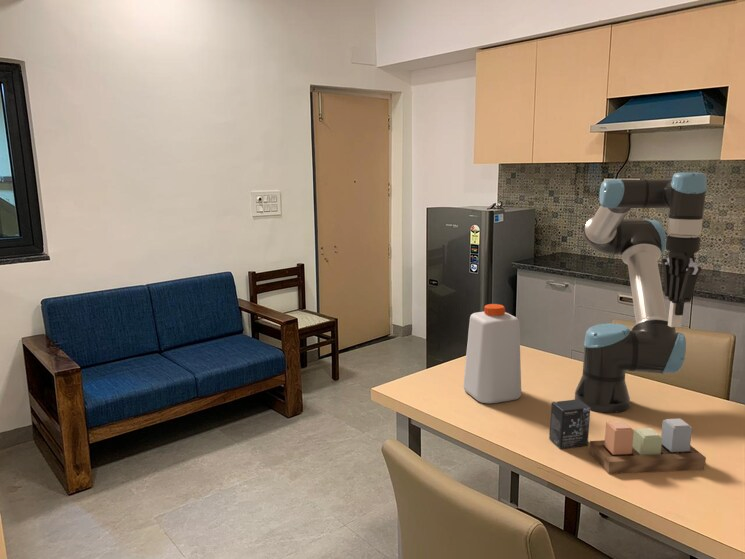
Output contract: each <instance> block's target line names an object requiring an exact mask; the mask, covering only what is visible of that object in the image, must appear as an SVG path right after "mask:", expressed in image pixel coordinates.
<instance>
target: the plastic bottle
mask: <svg viewBox="0 0 745 559" xmlns="http://www.w3.org/2000/svg"><path fill="white" fill-rule="evenodd" d="M483 308H484V309H483V311H478V312H473V313H472V314H470V315H469V316H470V317H469V322H468V323H469V324H468V334H467V346H466V353H465V354H466V355H465V366H464V376H463V385H462V386H463V390H464V391H465V392H466V393H467V394H469V395H470V396H471V397H473V398H474V399H475V400H476V401H477V402H479V403H483V404H488V405H489V404H490V405H491V404H498V403H504V402H511V401H515V400H518V399H519V398H520V397H521V396H522V374H521V373H522V369H521V339H520V338H521V336H520V335H521V334H520V320H519V319H518V317H517V316H514V315H512V314H510V313H509V312H506V307H505V306H504V305H503V304H499V303H489V304H486V305H484V306H483Z"/></svg>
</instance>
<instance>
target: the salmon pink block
mask: <svg viewBox="0 0 745 559" xmlns="http://www.w3.org/2000/svg"><path fill="white" fill-rule="evenodd" d="M633 434H634V429H633V428H632V427H631V426H630V425H629V424H627V422H626V421H625V420H615V421H614V420H613V421H611V420H609V421H607V422H605V432H604V440H605V442H604V446H605V447H606V448H607V449H608V450H609V451H610V452H611V453H612V454H613V455H616V454H632V445H633Z"/></svg>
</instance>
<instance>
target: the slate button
mask: <svg viewBox="0 0 745 559" xmlns="http://www.w3.org/2000/svg"><path fill="white" fill-rule="evenodd" d="M660 433H661V435H660V436H661V437H662V444H663V445H664V446H665V447H666V448H667V449H668V450H669V451H671V452H683V451H690V445H691V444H692V443H691V441H692V433H693V427H692V426H691V425H689V423H687V422H686V421H684V420H683V419H682V418H667V419H663V420H662V425H661V432H660Z"/></svg>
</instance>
